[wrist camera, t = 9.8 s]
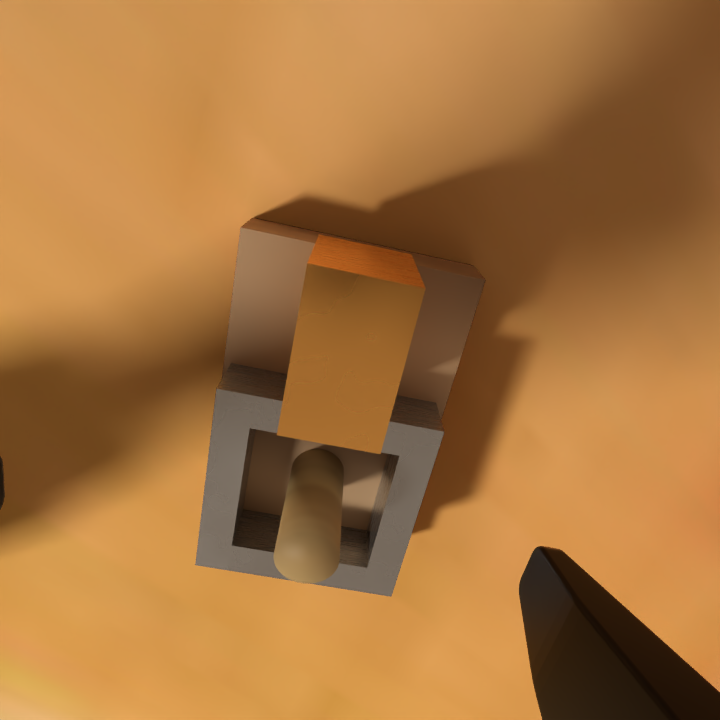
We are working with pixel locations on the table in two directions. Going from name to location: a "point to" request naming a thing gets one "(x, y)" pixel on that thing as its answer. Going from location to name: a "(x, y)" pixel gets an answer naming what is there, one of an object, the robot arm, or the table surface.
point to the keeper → (272, 352)
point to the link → (330, 415)
